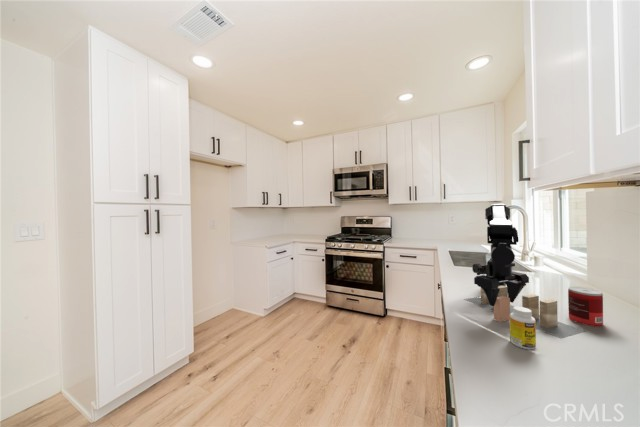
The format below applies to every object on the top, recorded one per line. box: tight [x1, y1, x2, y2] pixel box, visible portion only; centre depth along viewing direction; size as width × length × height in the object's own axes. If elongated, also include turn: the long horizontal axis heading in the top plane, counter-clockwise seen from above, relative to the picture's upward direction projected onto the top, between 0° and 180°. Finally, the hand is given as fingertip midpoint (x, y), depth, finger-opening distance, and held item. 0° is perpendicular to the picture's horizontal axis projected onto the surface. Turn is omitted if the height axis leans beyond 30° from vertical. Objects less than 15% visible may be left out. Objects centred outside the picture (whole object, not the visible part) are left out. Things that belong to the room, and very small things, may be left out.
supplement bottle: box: [509, 306, 537, 350], centre depth 65 cm, size 6×6×10 cm
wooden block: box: [539, 298, 559, 328], centre depth 75 cm, size 2×5×8 cm, turn 107°
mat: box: [463, 296, 586, 339], centre depth 84 cm, size 12×32×1 cm, turn 17°
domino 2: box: [493, 285, 508, 307], centre depth 89 cm, size 2×5×8 cm, turn 107°
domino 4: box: [521, 293, 540, 320], centre depth 80 cm, size 2×5×8 cm, turn 107°
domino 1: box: [480, 287, 490, 304], centre depth 94 cm, size 2×5×8 cm, turn 107°
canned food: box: [567, 286, 604, 327], centre depth 77 cm, size 8×8×11 cm
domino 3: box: [493, 296, 511, 322], centre depth 80 cm, size 2×5×8 cm, turn 107°
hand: (501, 303), depth 80 cm, fingers open, 9 cm apart
